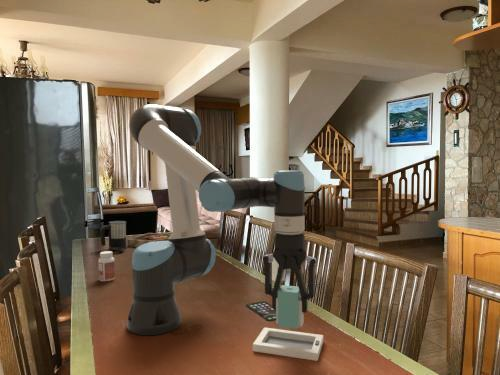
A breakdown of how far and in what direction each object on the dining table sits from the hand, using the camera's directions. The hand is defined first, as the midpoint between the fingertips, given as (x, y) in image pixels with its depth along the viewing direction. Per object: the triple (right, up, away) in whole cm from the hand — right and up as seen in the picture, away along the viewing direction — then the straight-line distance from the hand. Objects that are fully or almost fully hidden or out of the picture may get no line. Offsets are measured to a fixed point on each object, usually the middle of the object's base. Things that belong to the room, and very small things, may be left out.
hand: (289, 322), depth 100 cm
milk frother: (-81, 0, +112) cm, 138 cm away
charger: (0, 0, 0) cm, 0 cm away
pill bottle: (-68, -3, +59) cm, 89 cm away
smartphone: (-5, -5, +25) cm, 26 cm away
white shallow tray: (0, -6, +1) cm, 6 cm away
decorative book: (-63, +1, +127) cm, 142 cm away
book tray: (-64, +2, +128) cm, 143 cm away
